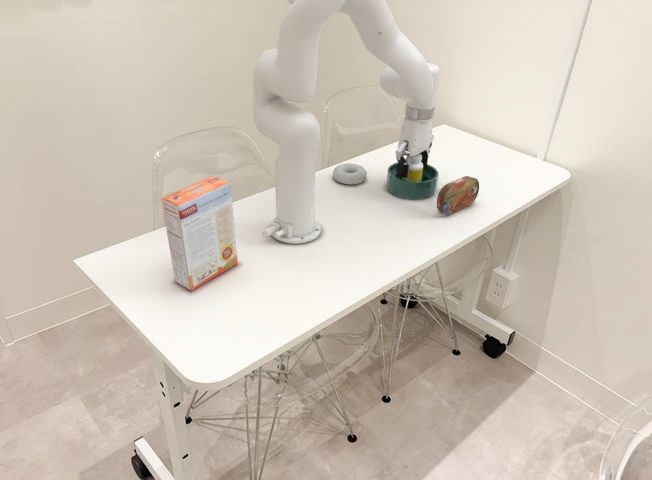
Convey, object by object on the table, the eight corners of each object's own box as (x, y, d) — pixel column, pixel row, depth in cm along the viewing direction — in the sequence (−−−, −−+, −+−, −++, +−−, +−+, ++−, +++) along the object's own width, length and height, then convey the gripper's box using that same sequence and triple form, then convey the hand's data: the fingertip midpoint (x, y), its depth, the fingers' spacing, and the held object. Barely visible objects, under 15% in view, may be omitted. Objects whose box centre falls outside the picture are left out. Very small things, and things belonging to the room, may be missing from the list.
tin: (441, 219, 154) (445, 190, 149) (432, 214, 156) (436, 186, 151) (477, 203, 162) (482, 175, 157) (468, 198, 164) (473, 171, 159)
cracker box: (220, 255, 137) (213, 173, 125) (238, 265, 134) (232, 182, 122) (172, 281, 128) (159, 196, 116) (190, 292, 125) (179, 206, 113)
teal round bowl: (427, 204, 160) (429, 186, 157) (378, 193, 165) (380, 175, 162) (441, 184, 171) (444, 167, 168) (396, 174, 176) (397, 157, 173)
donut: (332, 186, 169) (367, 186, 169) (332, 175, 167) (367, 175, 167) (333, 171, 177) (366, 172, 177) (333, 161, 175) (366, 161, 175)
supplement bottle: (424, 187, 168) (428, 155, 162) (412, 193, 165) (416, 161, 159) (409, 181, 171) (413, 149, 165) (397, 186, 168) (401, 155, 162)
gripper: (425, 101, 163) (417, 158, 172) (389, 115, 152) (383, 176, 161) (448, 108, 159) (439, 166, 168) (413, 123, 148) (405, 184, 157)
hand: (411, 171), depth 165 cm, fingers open, 9 cm apart
